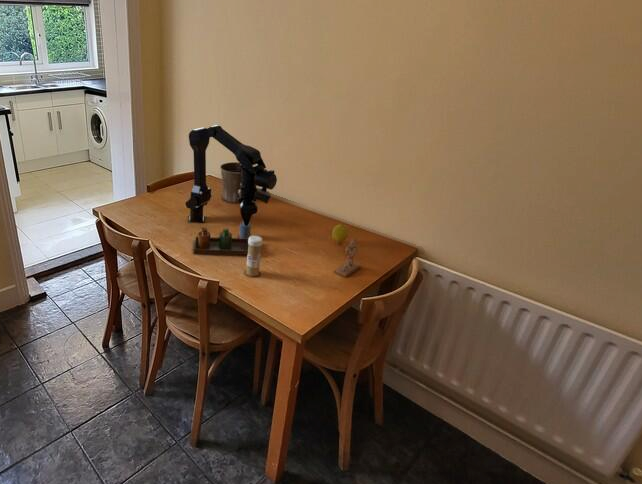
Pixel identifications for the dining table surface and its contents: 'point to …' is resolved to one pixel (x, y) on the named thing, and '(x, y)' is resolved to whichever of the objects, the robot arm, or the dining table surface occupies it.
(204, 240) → the amber bottle
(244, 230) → the blue bottle
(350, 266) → the grey statuette
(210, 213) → the dining table surface
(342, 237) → the lemon
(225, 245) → the green bottle
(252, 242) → the sprinkles bottle
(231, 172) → the plant pot
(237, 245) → the tray
